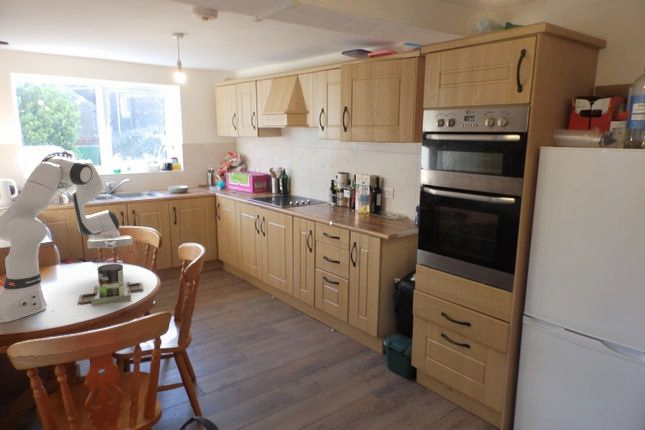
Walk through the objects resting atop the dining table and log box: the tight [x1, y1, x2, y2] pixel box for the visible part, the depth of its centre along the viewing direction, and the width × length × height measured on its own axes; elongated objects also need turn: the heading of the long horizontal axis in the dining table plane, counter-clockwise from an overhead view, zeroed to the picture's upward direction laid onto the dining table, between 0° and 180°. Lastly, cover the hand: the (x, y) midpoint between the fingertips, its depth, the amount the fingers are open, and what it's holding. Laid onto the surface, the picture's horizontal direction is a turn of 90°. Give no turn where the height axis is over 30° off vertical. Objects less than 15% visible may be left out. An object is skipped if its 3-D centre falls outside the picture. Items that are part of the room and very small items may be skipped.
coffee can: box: [97, 263, 125, 298], centre depth 193 cm, size 10×10×14 cm
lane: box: [77, 281, 144, 306], centre depth 197 cm, size 24×26×2 cm
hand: (110, 245), depth 207 cm, fingers closed
